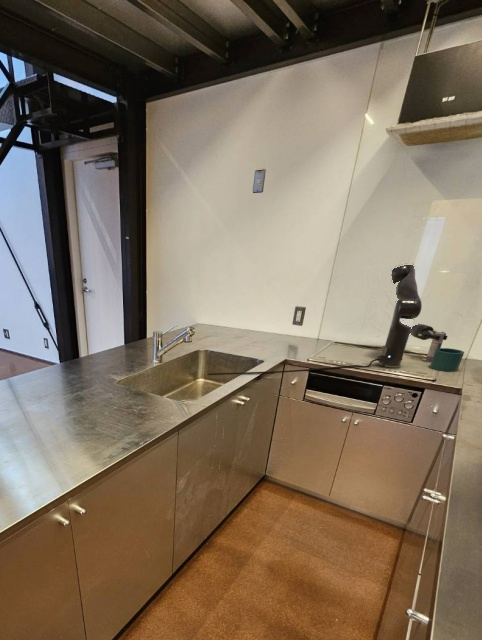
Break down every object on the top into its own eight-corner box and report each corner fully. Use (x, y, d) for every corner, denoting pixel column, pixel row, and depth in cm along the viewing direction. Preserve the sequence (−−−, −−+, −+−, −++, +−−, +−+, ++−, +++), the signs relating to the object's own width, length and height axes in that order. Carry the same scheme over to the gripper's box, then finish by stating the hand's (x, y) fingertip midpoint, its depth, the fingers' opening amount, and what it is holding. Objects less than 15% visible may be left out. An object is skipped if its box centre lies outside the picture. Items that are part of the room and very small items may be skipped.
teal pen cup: (436, 371, 191) (442, 353, 186) (425, 364, 201) (431, 347, 196) (462, 371, 189) (469, 353, 184) (450, 365, 199) (456, 348, 194)
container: (432, 359, 209) (442, 332, 201) (437, 362, 204) (447, 333, 197) (423, 359, 209) (432, 332, 202) (428, 362, 205) (438, 334, 198)
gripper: (411, 325, 211) (431, 331, 196) (436, 324, 211) (458, 330, 196) (407, 338, 215) (426, 345, 200) (431, 338, 215) (453, 345, 200)
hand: (442, 338), depth 198 cm, fingers closed on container, 3 cm apart
